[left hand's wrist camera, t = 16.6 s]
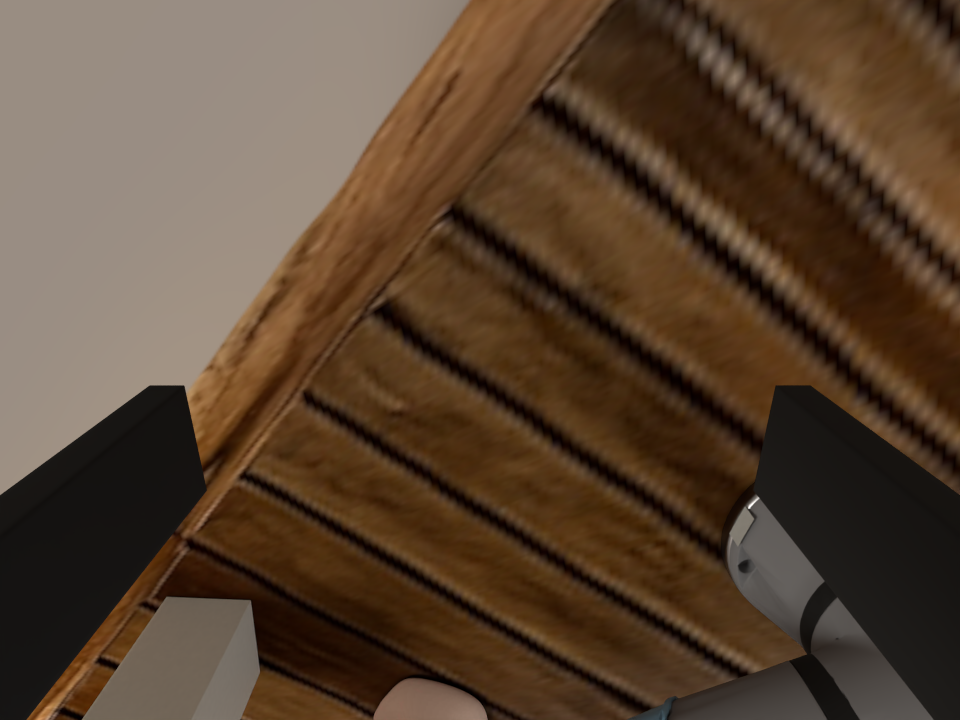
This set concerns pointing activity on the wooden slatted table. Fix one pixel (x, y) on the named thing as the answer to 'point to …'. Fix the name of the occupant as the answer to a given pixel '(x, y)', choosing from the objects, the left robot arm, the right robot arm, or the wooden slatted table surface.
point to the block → (186, 665)
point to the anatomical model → (428, 702)
